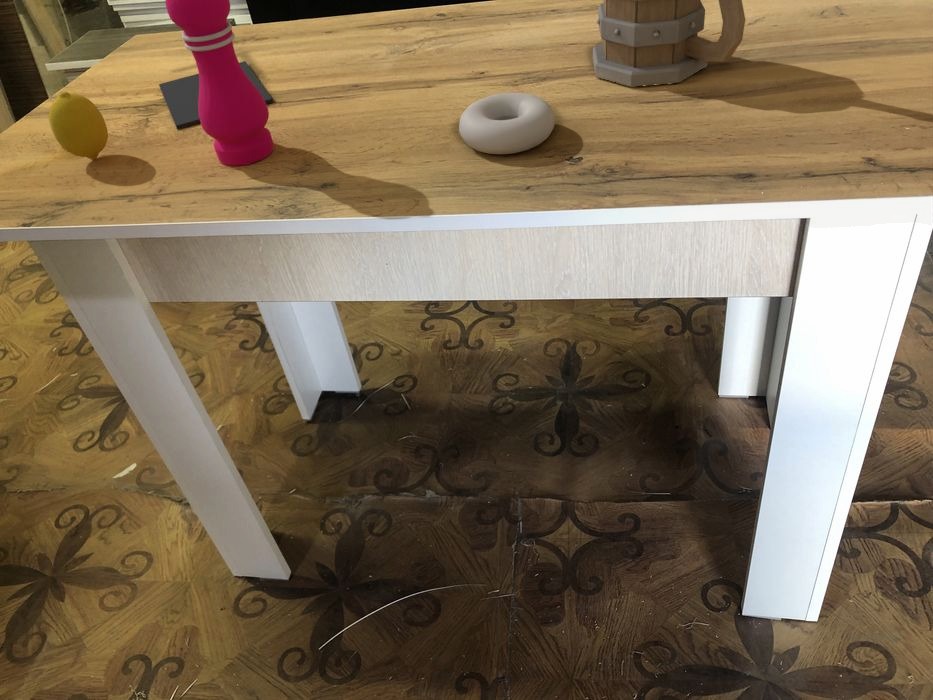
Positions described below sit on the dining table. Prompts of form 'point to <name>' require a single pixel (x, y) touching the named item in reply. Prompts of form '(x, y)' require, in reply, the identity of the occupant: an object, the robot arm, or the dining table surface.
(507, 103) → the donut
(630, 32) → the tankard
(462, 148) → the dining table surface
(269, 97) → the mat
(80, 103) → the lemon
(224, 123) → the pepper mill
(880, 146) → the dining table surface
